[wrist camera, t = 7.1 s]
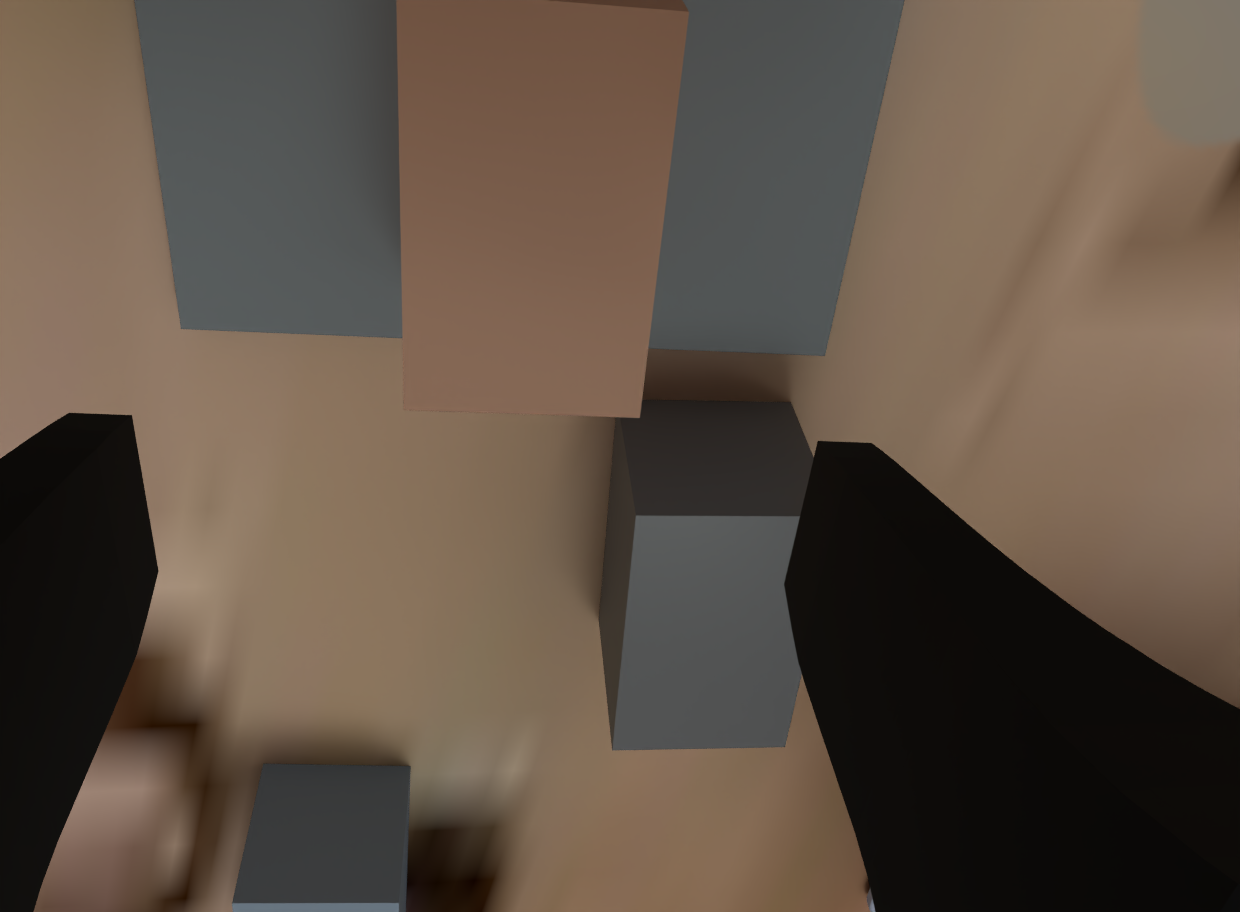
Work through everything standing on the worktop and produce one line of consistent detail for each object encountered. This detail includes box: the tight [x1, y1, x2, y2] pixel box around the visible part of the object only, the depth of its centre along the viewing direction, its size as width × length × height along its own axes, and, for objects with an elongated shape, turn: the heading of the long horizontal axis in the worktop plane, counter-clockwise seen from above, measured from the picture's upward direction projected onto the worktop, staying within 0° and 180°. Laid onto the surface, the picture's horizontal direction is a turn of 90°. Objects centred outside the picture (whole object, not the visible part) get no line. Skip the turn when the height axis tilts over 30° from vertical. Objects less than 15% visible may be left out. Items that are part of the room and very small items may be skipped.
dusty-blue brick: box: [232, 764, 411, 912], centre depth 28 cm, size 4×6×4 cm, turn 172°
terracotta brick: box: [396, 0, 689, 418], centre depth 17 cm, size 4×6×4 cm, turn 175°
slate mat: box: [134, 0, 904, 356], centre depth 18 cm, size 12×9×1 cm
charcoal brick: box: [599, 400, 814, 750], centre depth 23 cm, size 4×6×4 cm, turn 176°
